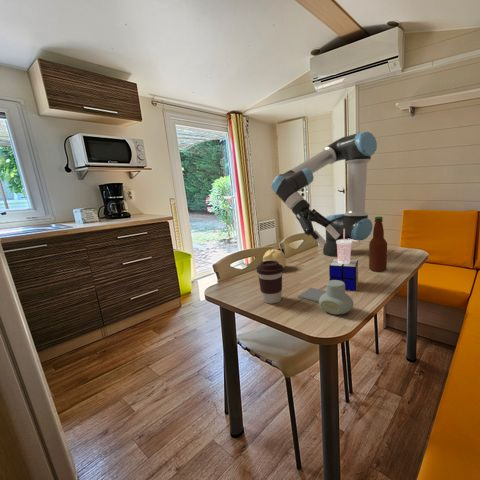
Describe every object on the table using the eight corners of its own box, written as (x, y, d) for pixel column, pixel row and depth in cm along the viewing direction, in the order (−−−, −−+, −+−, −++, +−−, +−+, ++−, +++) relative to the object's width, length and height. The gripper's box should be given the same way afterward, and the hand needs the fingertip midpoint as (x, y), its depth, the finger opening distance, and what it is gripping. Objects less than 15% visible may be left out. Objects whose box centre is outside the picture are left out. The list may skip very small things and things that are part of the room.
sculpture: (266, 265, 145) (265, 246, 143) (288, 265, 141) (287, 246, 139) (261, 272, 134) (259, 252, 132) (284, 273, 130) (283, 252, 128)
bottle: (385, 267, 125) (387, 215, 120) (387, 272, 119) (388, 217, 113) (368, 266, 128) (369, 216, 123) (369, 271, 122) (369, 218, 117)
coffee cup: (271, 308, 95) (268, 268, 92) (253, 300, 103) (250, 263, 100) (290, 299, 100) (288, 262, 97) (272, 292, 108) (270, 257, 105)
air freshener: (315, 311, 90) (314, 283, 88) (325, 302, 96) (325, 276, 94) (347, 320, 83) (347, 290, 81) (356, 309, 89) (356, 281, 87)
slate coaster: (310, 288, 109) (310, 287, 108) (334, 294, 102) (334, 292, 102) (297, 297, 102) (297, 296, 101) (322, 303, 95) (322, 302, 95)
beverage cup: (332, 262, 108) (332, 229, 105) (341, 259, 111) (341, 226, 108) (346, 265, 103) (347, 230, 100) (354, 261, 107) (355, 228, 104)
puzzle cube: (329, 288, 107) (329, 265, 105) (333, 280, 116) (333, 258, 114) (356, 291, 103) (356, 267, 101) (358, 282, 111) (358, 259, 109)
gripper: (306, 207, 127) (337, 240, 120) (277, 214, 109) (311, 253, 102) (316, 196, 122) (348, 229, 115) (287, 201, 105) (324, 241, 98)
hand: (331, 240), depth 109 cm, fingers open, 13 cm apart
